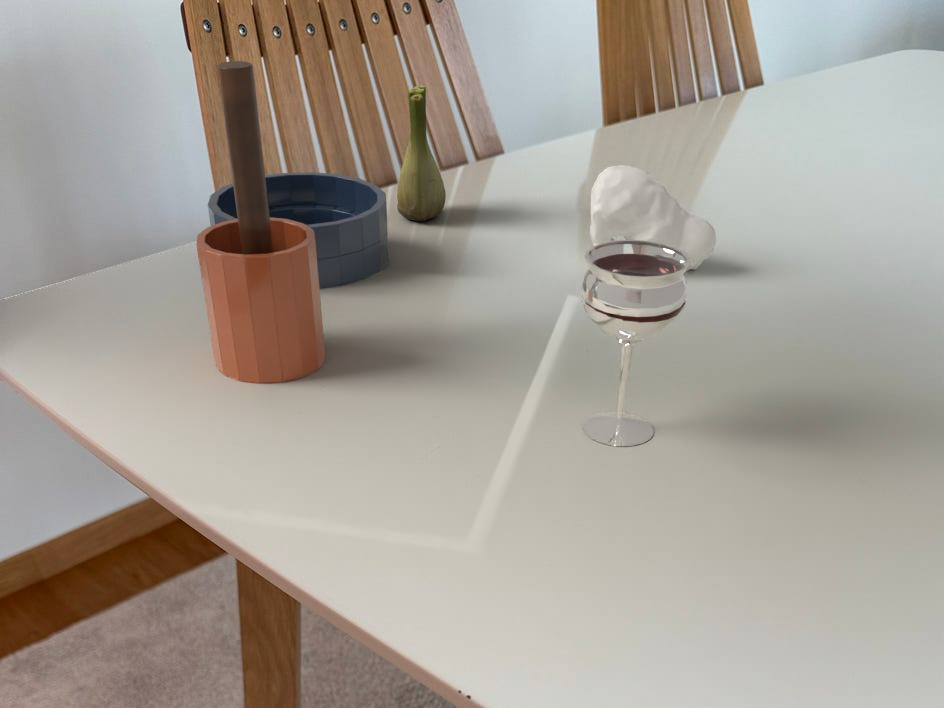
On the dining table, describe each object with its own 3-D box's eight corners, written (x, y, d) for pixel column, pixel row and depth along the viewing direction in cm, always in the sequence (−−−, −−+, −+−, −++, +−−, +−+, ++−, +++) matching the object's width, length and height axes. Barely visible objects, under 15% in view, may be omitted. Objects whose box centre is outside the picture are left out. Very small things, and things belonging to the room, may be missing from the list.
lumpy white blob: (598, 153, 95) (729, 174, 94) (582, 246, 100) (705, 267, 100) (593, 173, 90) (731, 195, 90) (577, 270, 96) (706, 292, 95)
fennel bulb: (415, 205, 110) (412, 79, 103) (456, 213, 109) (456, 85, 101) (387, 221, 106) (381, 91, 99) (429, 229, 105) (427, 97, 97)
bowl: (189, 288, 92) (178, 218, 88) (256, 230, 104) (249, 166, 100) (359, 306, 89) (354, 235, 86) (408, 244, 101) (406, 179, 97)
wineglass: (583, 400, 77) (597, 234, 69) (674, 414, 75) (699, 246, 67) (559, 443, 72) (572, 269, 64) (657, 460, 70) (682, 284, 62)
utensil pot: (199, 386, 77) (176, 250, 71) (242, 341, 84) (224, 212, 77) (304, 398, 76) (290, 261, 70) (340, 352, 82) (330, 222, 76)
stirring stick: (249, 363, 79) (209, 66, 66) (260, 351, 80) (223, 59, 68) (281, 366, 78) (247, 69, 66) (292, 354, 80) (260, 62, 67)
